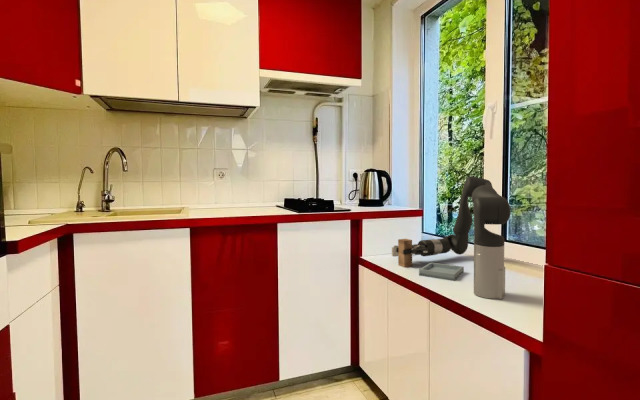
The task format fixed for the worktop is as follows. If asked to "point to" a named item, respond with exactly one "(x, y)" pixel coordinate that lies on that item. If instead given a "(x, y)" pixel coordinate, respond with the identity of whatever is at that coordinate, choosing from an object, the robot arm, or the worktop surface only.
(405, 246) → the tall wooden block
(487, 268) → the robot arm
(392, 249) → the lighter
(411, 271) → the worktop surface
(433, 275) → the tray
